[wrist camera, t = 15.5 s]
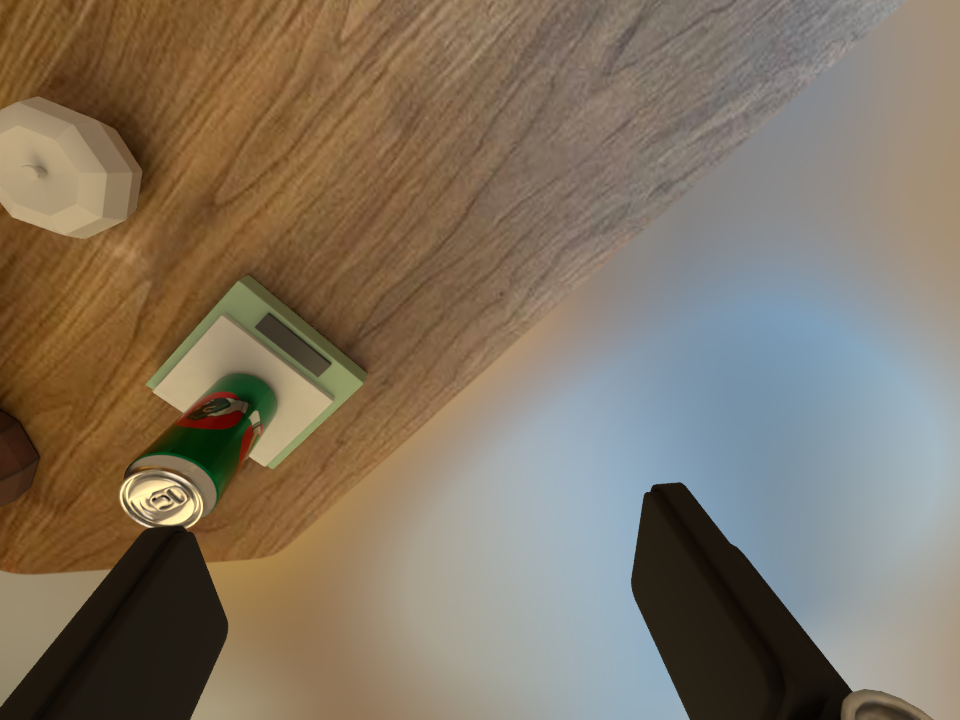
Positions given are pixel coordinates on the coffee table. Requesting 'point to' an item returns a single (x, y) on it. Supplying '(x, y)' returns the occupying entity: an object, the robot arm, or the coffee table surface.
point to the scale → (262, 365)
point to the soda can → (198, 454)
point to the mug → (15, 460)
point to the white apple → (65, 169)
